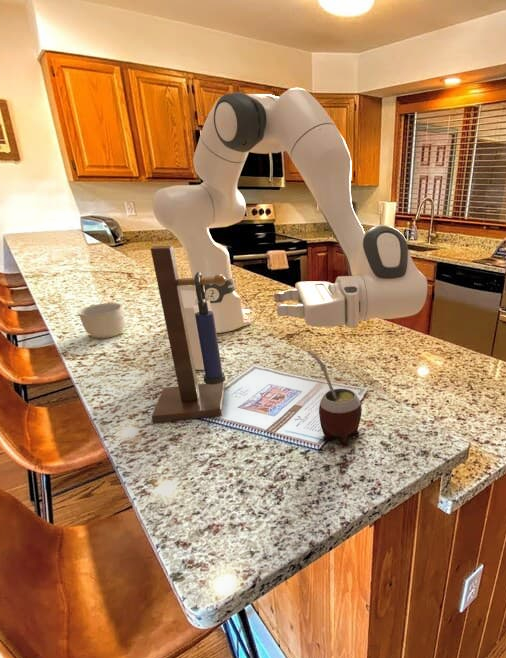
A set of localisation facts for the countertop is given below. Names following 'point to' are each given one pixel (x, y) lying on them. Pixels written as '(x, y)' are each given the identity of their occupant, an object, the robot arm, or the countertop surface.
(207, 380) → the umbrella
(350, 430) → the mate gourd
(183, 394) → the coat stand
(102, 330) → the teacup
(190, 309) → the milk carton
